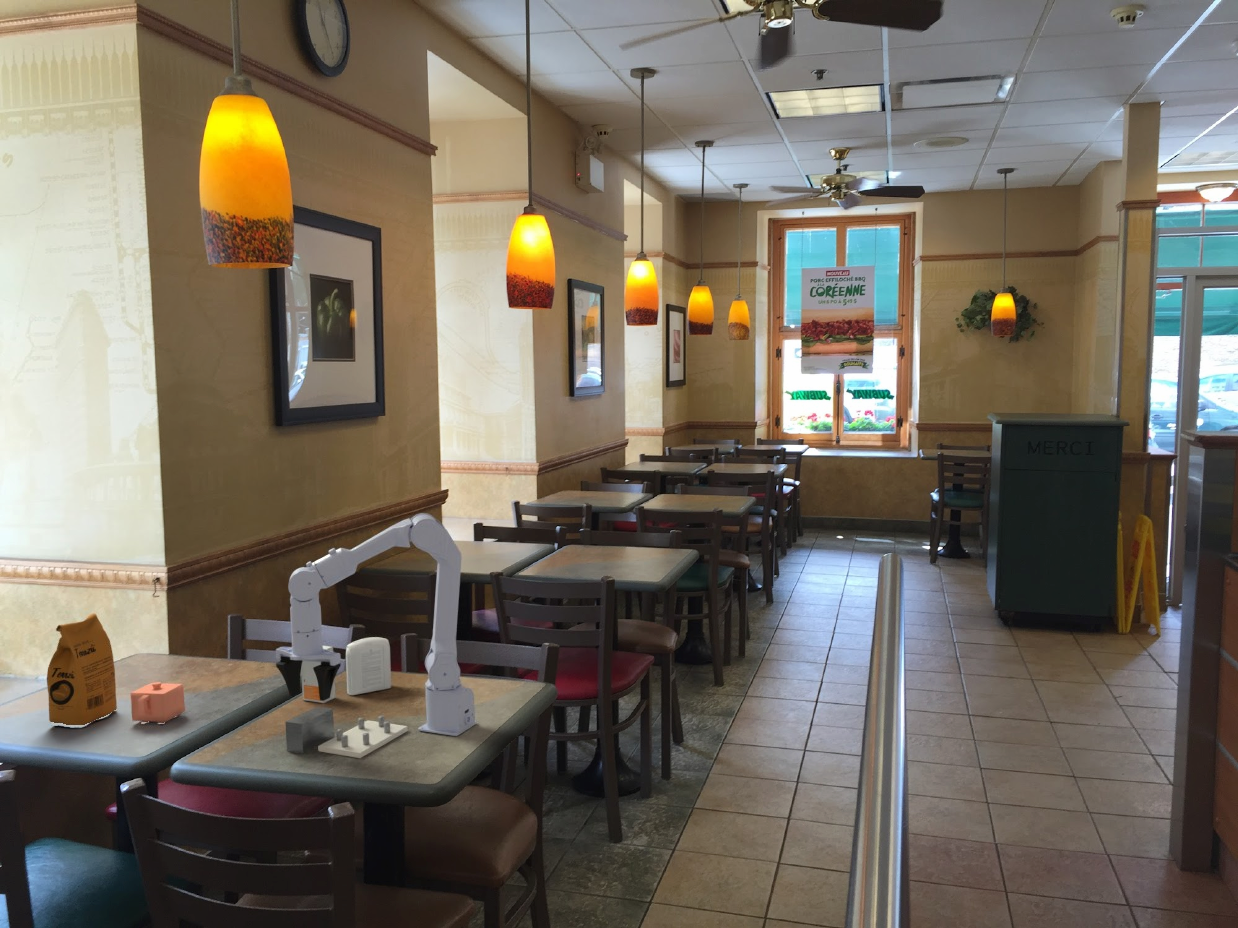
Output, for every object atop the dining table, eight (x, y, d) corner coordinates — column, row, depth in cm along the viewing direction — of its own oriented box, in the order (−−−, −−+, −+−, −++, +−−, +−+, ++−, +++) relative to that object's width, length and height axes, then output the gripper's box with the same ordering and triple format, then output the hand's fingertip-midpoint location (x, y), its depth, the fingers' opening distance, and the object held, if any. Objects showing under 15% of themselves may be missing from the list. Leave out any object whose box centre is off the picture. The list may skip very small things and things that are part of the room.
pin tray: (407, 730, 195) (406, 716, 195) (360, 758, 182) (359, 742, 181) (367, 724, 199) (367, 710, 199) (318, 751, 186) (317, 735, 185)
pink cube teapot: (194, 710, 211) (191, 673, 210) (159, 730, 199) (156, 691, 199) (162, 709, 212) (159, 672, 212) (125, 728, 201) (123, 690, 200)
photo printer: (387, 683, 226) (385, 632, 225) (394, 688, 223) (392, 636, 222) (344, 692, 221) (342, 640, 220) (350, 697, 217) (348, 644, 216)
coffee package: (41, 728, 202) (33, 626, 200) (86, 708, 214) (79, 611, 212) (81, 731, 200) (73, 627, 198) (124, 710, 212) (117, 613, 210)
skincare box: (302, 700, 215) (299, 648, 214) (314, 694, 219) (312, 643, 218) (323, 703, 213) (321, 651, 212) (336, 697, 217) (333, 646, 216)
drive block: (334, 737, 193) (332, 708, 192) (303, 754, 185) (301, 723, 184) (318, 735, 194) (317, 706, 194) (287, 751, 186) (285, 721, 186)
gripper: (263, 631, 187) (266, 698, 188) (321, 637, 181) (325, 707, 182) (288, 622, 193) (292, 687, 195) (346, 628, 188) (349, 695, 189)
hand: (309, 696), depth 189 cm, fingers open, 7 cm apart
